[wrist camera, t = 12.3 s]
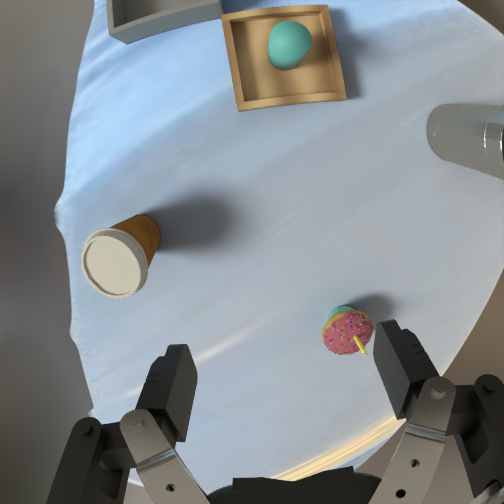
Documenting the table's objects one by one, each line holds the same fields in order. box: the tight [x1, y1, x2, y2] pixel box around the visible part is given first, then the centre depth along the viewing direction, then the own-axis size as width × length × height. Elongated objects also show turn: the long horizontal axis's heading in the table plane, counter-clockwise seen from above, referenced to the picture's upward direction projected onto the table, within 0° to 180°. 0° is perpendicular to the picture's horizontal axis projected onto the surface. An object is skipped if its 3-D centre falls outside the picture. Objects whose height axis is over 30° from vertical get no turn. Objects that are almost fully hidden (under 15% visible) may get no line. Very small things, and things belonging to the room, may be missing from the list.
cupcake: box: [322, 306, 373, 355], centre depth 45 cm, size 9×8×12 cm
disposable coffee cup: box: [81, 215, 161, 298], centre depth 40 cm, size 10×10×12 cm
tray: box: [221, 5, 347, 112], centre depth 33 cm, size 14×14×3 cm
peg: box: [267, 21, 312, 71], centre depth 29 cm, size 4×4×9 cm
